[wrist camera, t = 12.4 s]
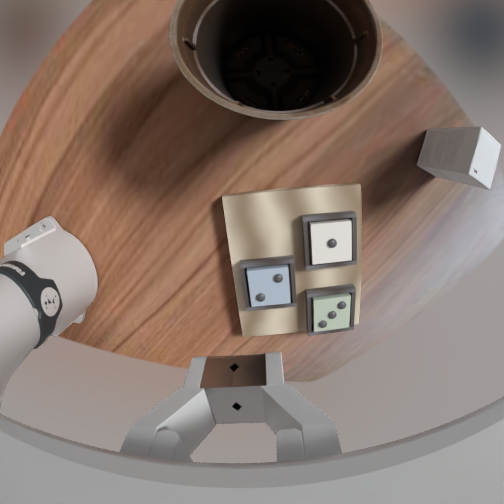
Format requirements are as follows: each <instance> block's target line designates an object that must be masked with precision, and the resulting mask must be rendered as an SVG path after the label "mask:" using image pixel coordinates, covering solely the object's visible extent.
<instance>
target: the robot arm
mask: <svg viewBox="0 0 504 504" xmlns="http://www.w3.org/2000/svg"><path fill="white" fill-rule="evenodd" d="M44 225H45V227H44ZM97 287H98V280H97V273H96V269H95V266H94V263H93V261H92V258H91V256H90V255H89V253H88V251H87V250H86V248H85V247H84V246H83V244H82V243H81V242H80V241H79V240H78V239H77V238H76V237H74V236H73V235H72V234H70V233H68V232H67V231H65V230H63V229H62V228H61V227H60V225H59V224H58V223H57V221H56V220H55V219H54V218H53V217H52V216H47V217H45V218H44V219H42V220H40V221H39V222H37V223H35V224H34V225H32V226H31V227H29V228H27V229H26V230H24V231H23V232H21V233H19V234H18V235H16V236H15V237H13V238H12V239H10V240H9V241H7V242H6V243H5V245H4V257H2V258H0V406H1V401H2V397H3V394H4V391H5V388H6V386H7V383H8V382H9V380H10V378H11V376H12V375H13V373H14V372H15V371H16V369H17V368H18V366H19V365H20V364H21V363H22V361H23V360H24V359H25V358H26V356H27V355H28V354H29V353H30V352H31V351H32V349H36V348H38V347H39V346H40V345H42V344H43V343H44V342H45V341H46V340H47V339H48V338H49V336H58V335H59V334H60V333H61V332H63V331H64V330H65V329H66V328H67V327H68V326H69V325H71V324H72V323H73V322H74V323H81V322H82V321H83V320H84V318H85V314H86V309H87V308H88V307H89V306H90V304H91V303H92V302H93V300H94V299H95V296H96V293H97ZM262 422H266V423H267V425H268V426H269V427H270V428H271V430H272V431H273V432H274V433H275V435H276V440H277V462H266V463H200V462H193V461H192V459H191V457H190V455H191V454H192V453H193V451H194V450H195V449H196V448H197V447H198V446H199V445H200V443H201V442H202V441H203V440H204V439H205V438H206V436H207V435H208V434H209V433H210V432H211V431H212V429H213V428H214V427H215V426H216V424H230V423H262ZM0 504H504V397H502V398H500V399H498V400H496V401H495V402H493V403H491V404H489V405H487V406H485V407H483V408H481V409H478V410H476V411H474V412H472V413H470V414H468V415H465V416H463V417H461V418H458V419H456V420H454V421H451V422H449V423H446V424H444V425H441V426H439V427H436V428H433V429H430V430H428V431H425V432H422V433H419V434H416V435H413V436H410V437H406V438H403V439H400V440H396V441H393V442H389V443H386V444H382V445H378V446H374V447H370V448H365V449H361V450H356V451H352V452H346V453H342V452H341V447H340V443H339V438H338V434H337V430H336V425H335V422H334V421H333V420H331V419H330V418H329V417H328V416H327V415H325V414H324V413H323V412H322V411H320V410H319V409H318V408H317V407H316V406H314V405H313V404H312V403H311V402H309V401H308V400H307V399H306V398H305V397H304V396H302V395H301V394H300V393H299V392H298V391H296V390H295V389H294V388H293V387H292V386H291V385H290V384H284V376H283V366H282V355H281V352H280V351H278V352H270V353H264V354H252V355H238V356H208V357H207V356H200V357H193V358H192V360H191V363H190V366H189V370H188V373H187V377H186V380H185V383H184V387H183V388H179V389H178V390H176V391H175V392H174V393H172V394H171V395H170V396H168V397H167V398H166V399H165V400H163V401H162V402H161V403H159V404H158V405H157V406H156V407H154V408H153V409H151V410H150V411H149V412H147V413H146V414H145V415H143V416H142V417H141V418H139V419H138V420H137V421H135V422H134V423H132V424H131V425H130V427H129V430H128V432H127V435H126V437H125V440H124V442H123V445H122V447H121V450H120V452H115V451H110V450H106V449H101V448H97V447H93V446H89V445H85V444H82V443H78V442H74V441H71V440H68V439H64V438H61V437H58V436H55V435H52V434H49V433H46V432H44V431H41V430H38V429H35V428H33V427H30V426H28V425H25V424H22V423H20V422H18V421H16V420H13V419H11V418H8V417H6V416H4V415H2V414H0Z"/></svg>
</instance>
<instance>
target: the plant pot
mask: <svg viewBox="0 0 504 504" xmlns="http://www.w3.org/2000/svg"><path fill="white" fill-rule="evenodd" d="M169 39H170V46H171V50H172V53H173V56H174V59H175V61H176V63H177V65H178V67H179V69H180V71H181V72H182V74H183V75H184V76H185V78H186V79H187V80H188V81H189V82H190V84H191V85H192V86H193V87H195V88H196V89H197V90H198V91H199V92H200V93H202V94H203V95H204V96H206V97H207V98H209V99H210V100H212V101H214V102H215V103H217V104H219V105H221V106H223V107H225V108H228V109H230V110H232V111H235V112H237V113H240V114H244V115H247V116H252V117H256V118H263V119H271V120H297V119H304V118H310V117H314V116H319V115H322V114H325V113H328V112H331V111H333V110H336V109H338V108H340V107H342V106H343V105H345V104H347V103H349V102H350V101H351V100H353V99H354V98H355V97H357V96H358V95H359V94H360V93H361V92H362V91H363V90H364V89H365V88H366V87H367V86H368V84H369V83H370V81H371V80H372V79H373V77H374V75H375V73H376V71H377V69H378V66H379V63H380V60H381V56H382V49H383V36H382V29H381V25H380V21H379V18H378V16H377V13H376V11H375V9H374V7H373V6H372V4H371V2H370V1H369V0H178V1H177V3H176V5H175V8H174V10H173V13H172V17H171V21H170V28H169ZM288 43H292V44H294V45H295V46H297V47H298V48H299V49H301V50H302V51H303V52H304V55H302V54H300V53H299V52H297V51H296V50H295V49H294V48H291V47H289V46H288ZM246 45H249V49H248V50H246V51H245V52H244V53H243V54H242V55H241V56H240V57H239V58H238V59H236V55H237V54H238V53H239V51H240V50H241V49H242V48H244V47H245V46H246ZM269 58H273V59H274V61H272V62H270V61H268V59H269ZM285 69H288V70H289V73H288V74H286V73H284V70H285ZM256 71H259V72H260V75H256V74H255V72H256ZM271 83H275V84H276V87H272V86H271ZM305 89H309V90H310V92H309V94H308V95H307V96H306V97H305V98H304V99H303V100H302V101H301V102H299V103H297V104H296V100H297V99H298V98H299V97H300V96H301V95H302V94H303V93H304V91H305ZM239 94H243V95H244V96H245V97H246V98H247V99H249V100H250V101H252V102H254V103H256V107H252V106H250V105H248V104H247V103H246V102H244V101H243V100H242V99H241V98H240V96H239Z"/></svg>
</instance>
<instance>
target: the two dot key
mask: <svg viewBox="0 0 504 504" xmlns="http://www.w3.org/2000/svg"><path fill="white" fill-rule="evenodd" d="M247 275H248V283H249V290H250V298H251V305H252V307H256V306H267V305H277V304H287V303H291V300H290V285H289V271H288V264H280V265H270V266H260V267H249V268H247Z"/></svg>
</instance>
